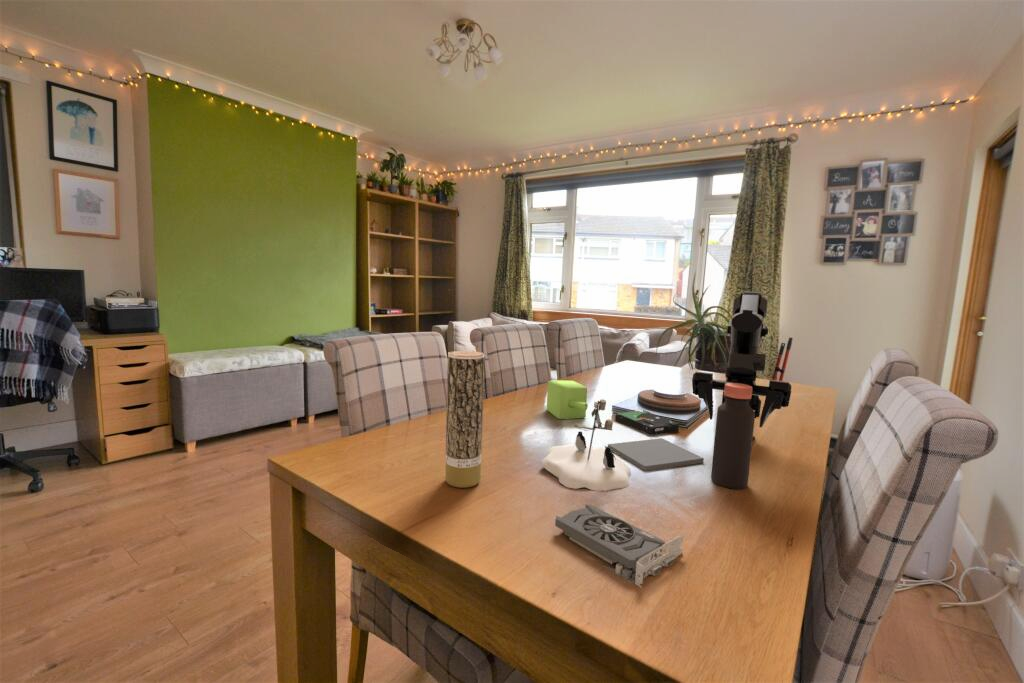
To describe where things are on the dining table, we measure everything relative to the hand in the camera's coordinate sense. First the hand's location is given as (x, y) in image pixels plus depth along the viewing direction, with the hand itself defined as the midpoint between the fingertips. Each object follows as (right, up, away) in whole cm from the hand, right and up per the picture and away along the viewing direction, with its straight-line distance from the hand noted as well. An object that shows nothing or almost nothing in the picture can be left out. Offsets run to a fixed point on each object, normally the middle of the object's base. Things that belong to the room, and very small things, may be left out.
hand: (735, 422), depth 95 cm
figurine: (-30, -11, +2) cm, 32 cm away
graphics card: (-30, -15, -25) cm, 42 cm away
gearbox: (-29, -6, +44) cm, 53 cm away
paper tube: (-55, -11, -5) cm, 56 cm away
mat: (-13, -10, +13) cm, 20 cm away
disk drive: (-8, -8, +36) cm, 38 cm away
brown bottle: (-2, -12, -1) cm, 12 cm away
